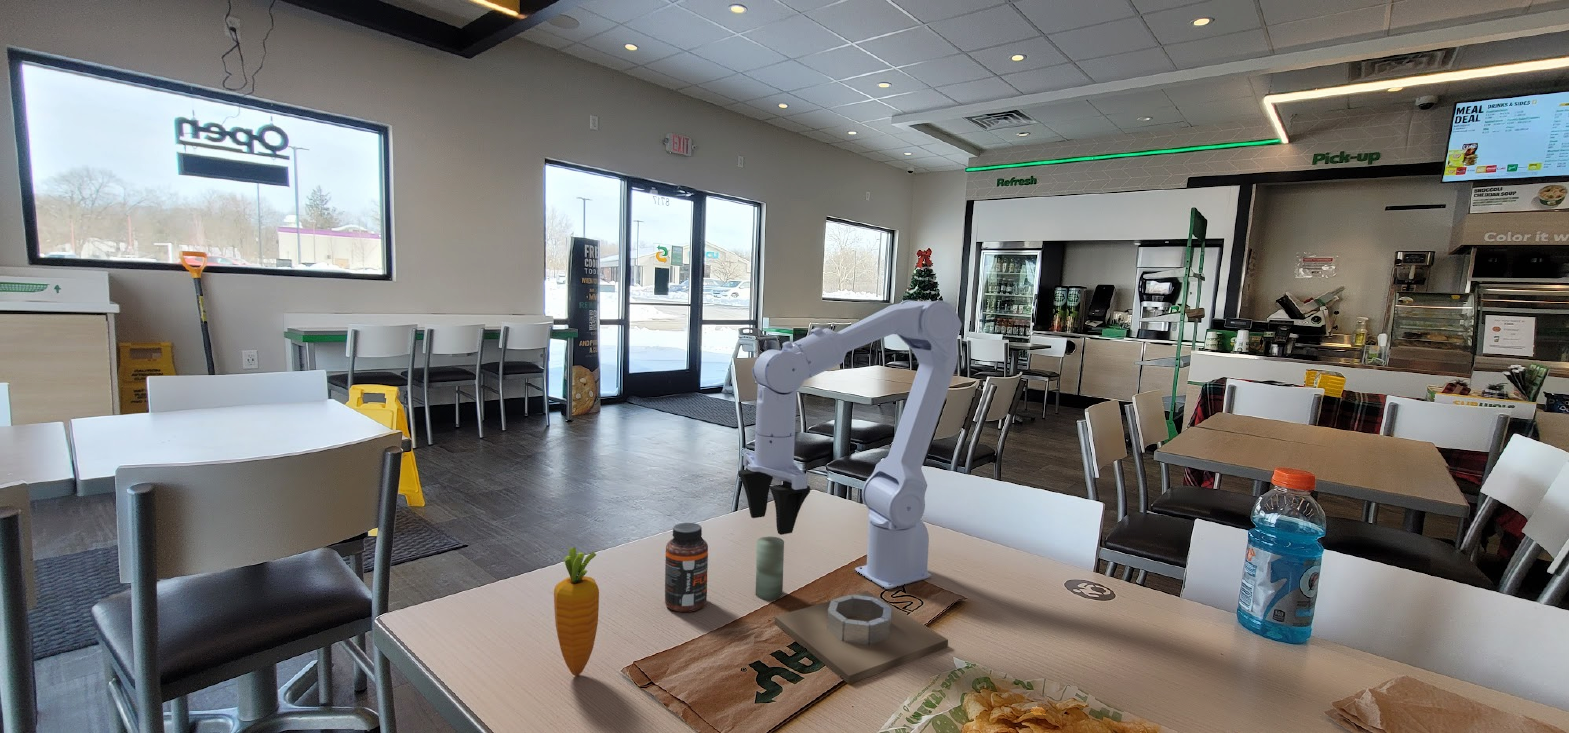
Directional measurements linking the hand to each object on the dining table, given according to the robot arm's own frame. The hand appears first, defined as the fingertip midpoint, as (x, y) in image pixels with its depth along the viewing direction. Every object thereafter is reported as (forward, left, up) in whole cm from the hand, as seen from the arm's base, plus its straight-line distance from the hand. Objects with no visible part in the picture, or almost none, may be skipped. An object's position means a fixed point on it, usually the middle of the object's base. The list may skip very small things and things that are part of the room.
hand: (770, 524), depth 95 cm
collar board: (-4, +16, -11) cm, 20 cm away
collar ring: (-4, +16, -11) cm, 20 cm away
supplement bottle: (+12, -3, -11) cm, 16 cm away
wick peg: (0, 0, -11) cm, 11 cm away
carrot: (+30, +7, -11) cm, 33 cm away
